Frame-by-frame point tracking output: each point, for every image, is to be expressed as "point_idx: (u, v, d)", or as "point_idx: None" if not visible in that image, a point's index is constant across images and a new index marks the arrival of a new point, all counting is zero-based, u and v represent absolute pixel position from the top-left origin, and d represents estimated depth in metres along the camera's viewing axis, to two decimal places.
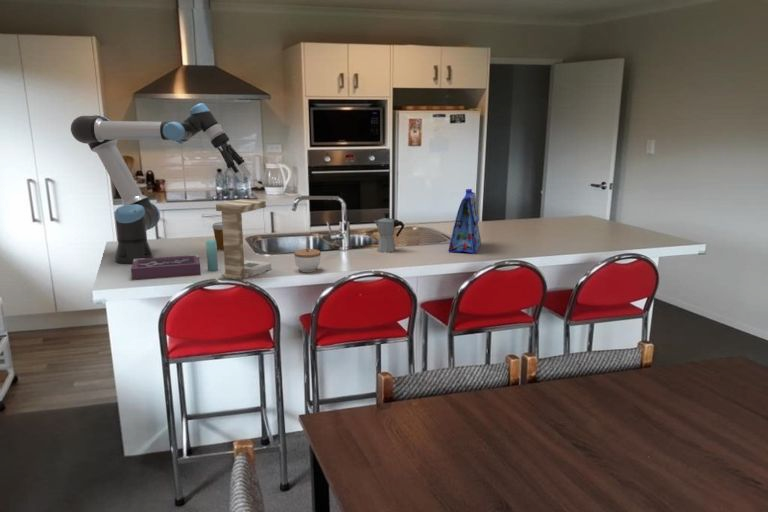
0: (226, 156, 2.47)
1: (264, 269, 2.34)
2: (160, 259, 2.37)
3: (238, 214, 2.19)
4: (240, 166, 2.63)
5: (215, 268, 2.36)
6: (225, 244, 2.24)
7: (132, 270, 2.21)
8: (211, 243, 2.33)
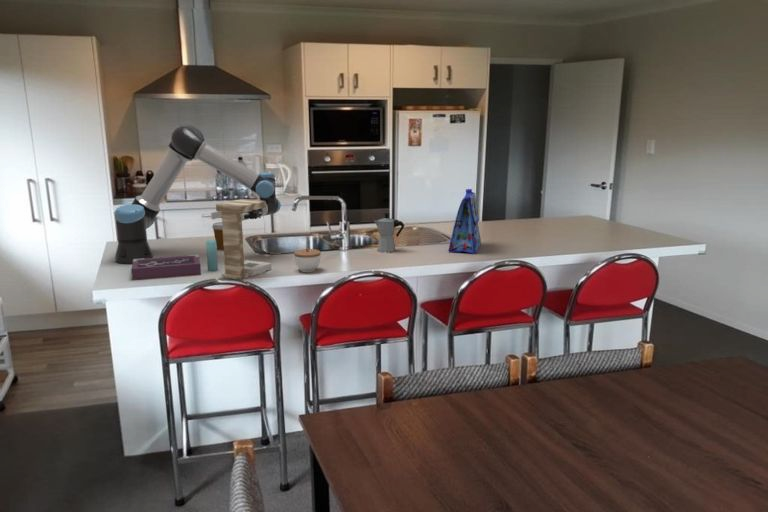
0: (258, 214, 2.48)
1: (264, 269, 2.34)
2: (160, 259, 2.37)
3: (238, 214, 2.19)
4: (221, 212, 2.49)
5: (215, 268, 2.36)
6: (225, 244, 2.24)
7: (132, 270, 2.21)
8: (211, 243, 2.33)
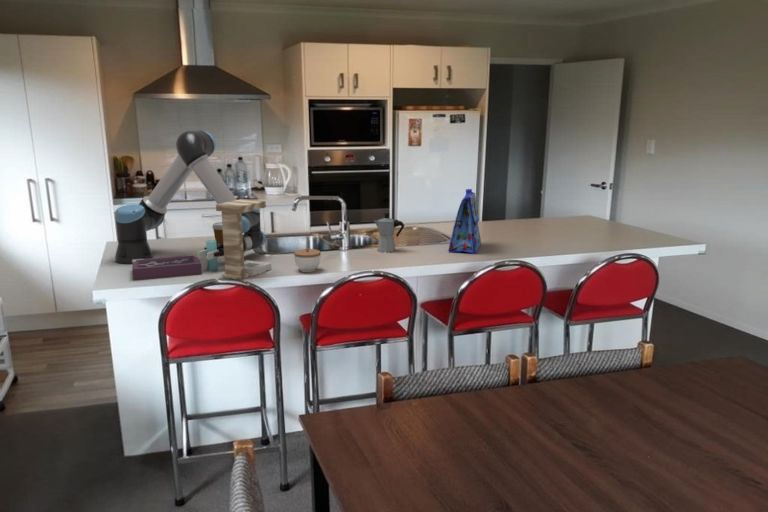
0: None
1: (264, 269, 2.34)
2: (159, 259, 2.36)
3: (238, 214, 2.19)
4: None
5: (215, 268, 2.36)
6: (225, 244, 2.24)
7: (133, 270, 2.21)
8: (211, 243, 2.33)
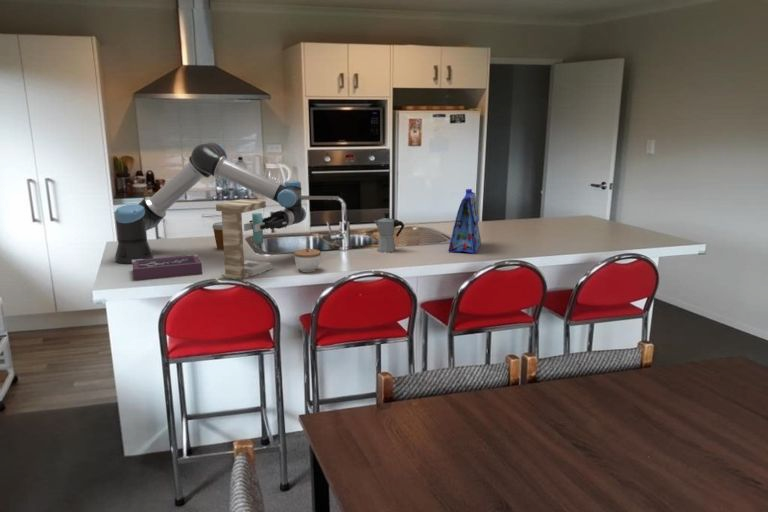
0: (277, 225, 2.40)
1: (264, 269, 2.34)
2: (159, 259, 2.36)
3: (238, 214, 2.19)
4: None
5: (261, 241, 2.37)
6: (225, 244, 2.24)
7: (134, 271, 2.20)
8: (257, 215, 2.34)
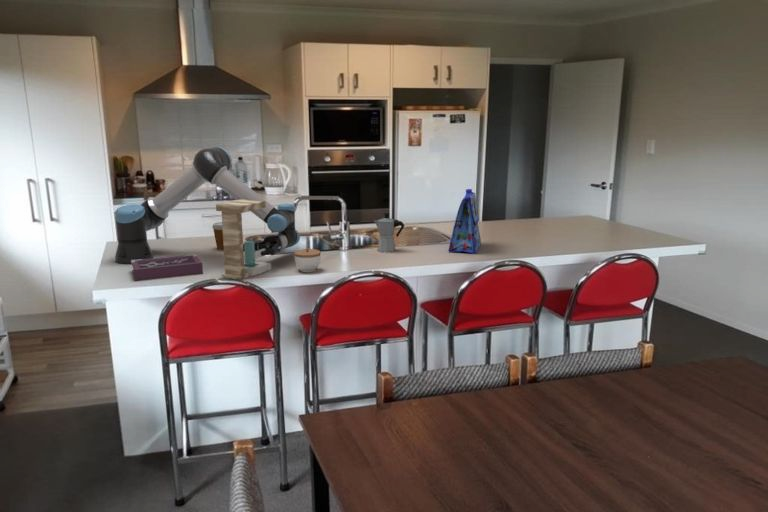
0: (275, 250, 2.37)
1: (264, 269, 2.34)
2: (158, 259, 2.36)
3: (238, 214, 2.19)
4: None
5: None
6: (225, 244, 2.24)
7: (135, 271, 2.20)
8: (249, 244, 2.32)
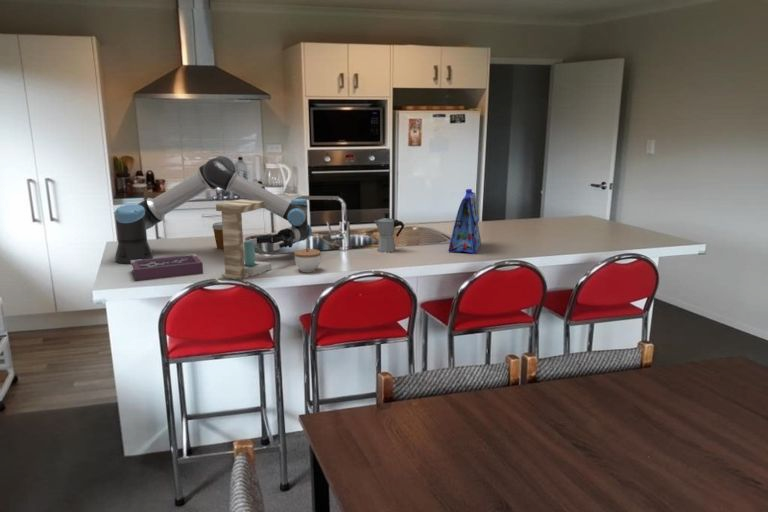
0: (292, 243, 2.48)
1: (264, 269, 2.34)
2: (158, 260, 2.36)
3: (238, 214, 2.19)
4: (255, 240, 2.48)
5: None
6: (225, 244, 2.24)
7: (135, 271, 2.20)
8: (249, 244, 2.32)
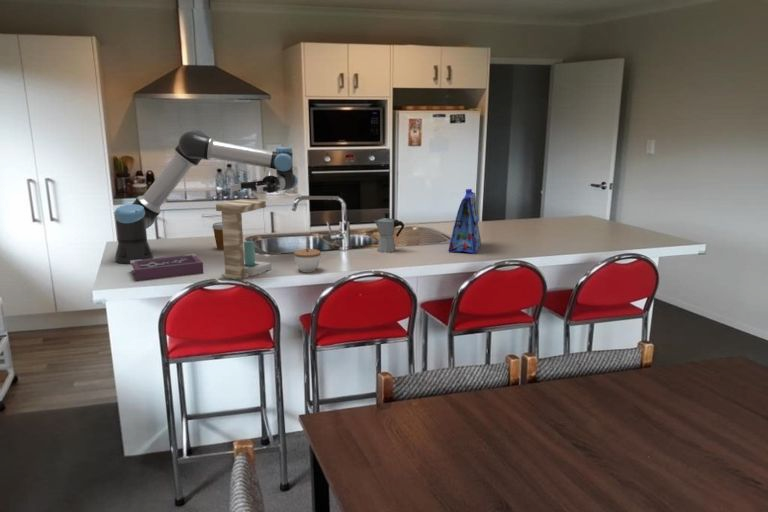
0: (276, 187, 2.46)
1: (264, 269, 2.34)
2: (157, 260, 2.36)
3: (238, 214, 2.19)
4: (239, 185, 2.47)
5: None
6: (225, 244, 2.24)
7: (136, 271, 2.20)
8: (249, 244, 2.31)
